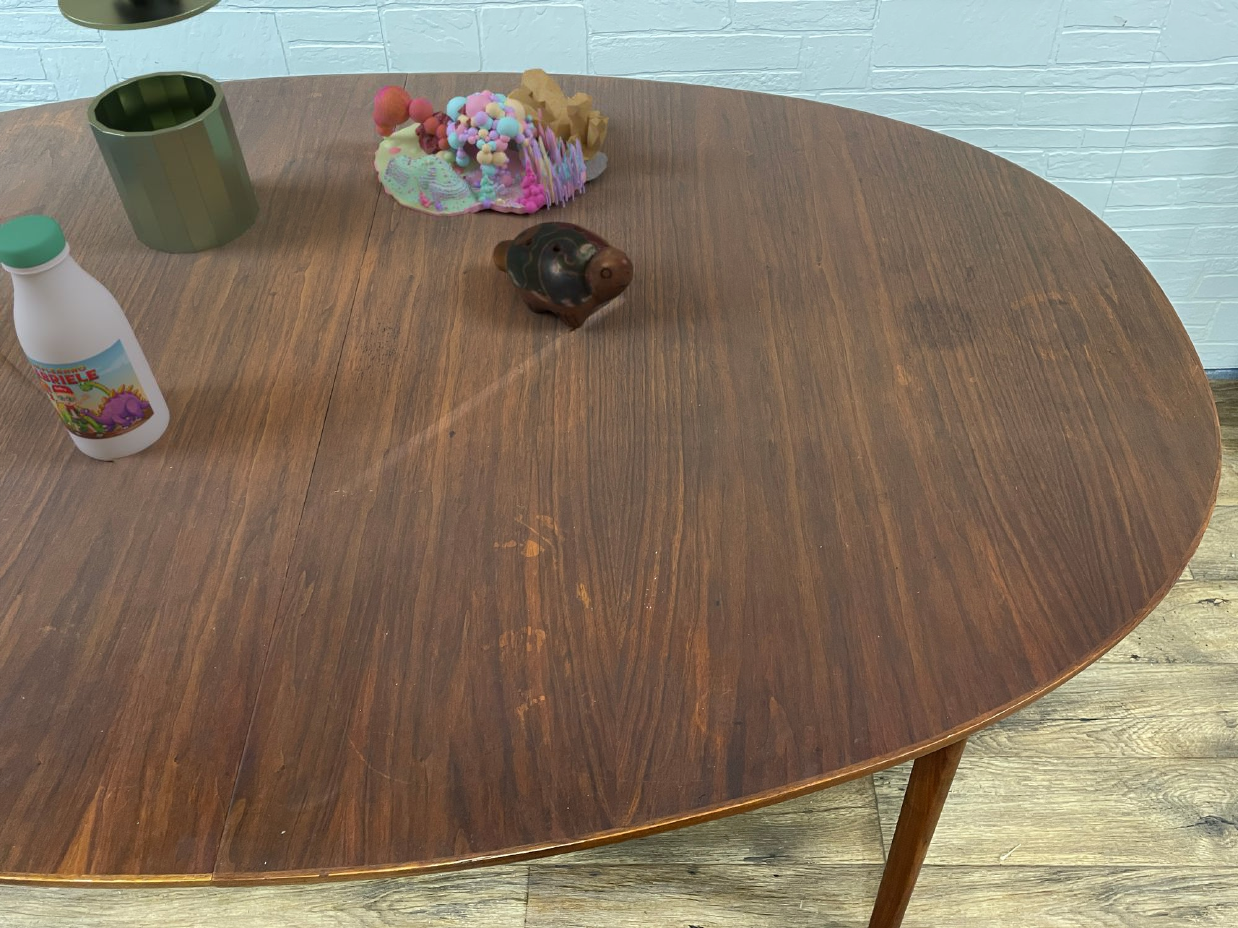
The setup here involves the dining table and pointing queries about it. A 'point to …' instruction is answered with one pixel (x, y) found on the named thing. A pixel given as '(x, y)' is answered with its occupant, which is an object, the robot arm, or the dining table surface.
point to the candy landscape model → (489, 148)
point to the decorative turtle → (564, 269)
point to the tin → (175, 160)
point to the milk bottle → (80, 344)
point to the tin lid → (131, 12)
